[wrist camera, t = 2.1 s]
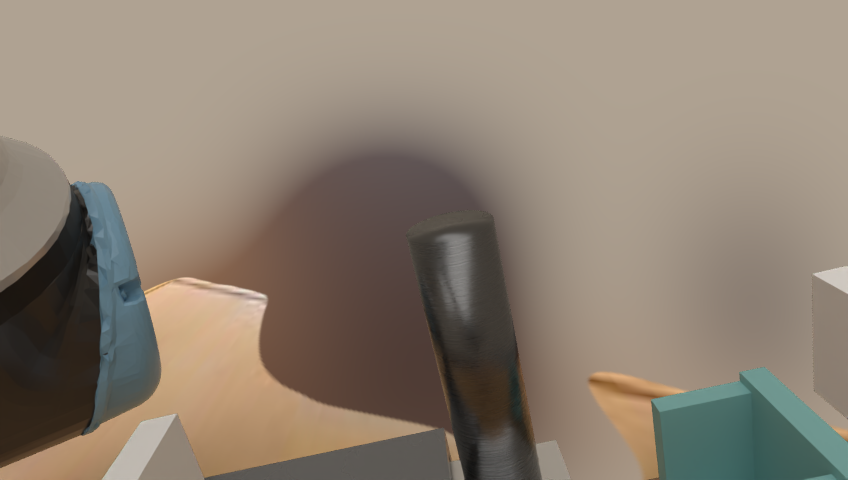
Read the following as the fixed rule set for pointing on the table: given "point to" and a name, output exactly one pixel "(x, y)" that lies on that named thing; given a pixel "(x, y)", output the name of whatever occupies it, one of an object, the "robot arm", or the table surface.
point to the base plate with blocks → (365, 462)
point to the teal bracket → (745, 434)
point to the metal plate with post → (478, 350)
